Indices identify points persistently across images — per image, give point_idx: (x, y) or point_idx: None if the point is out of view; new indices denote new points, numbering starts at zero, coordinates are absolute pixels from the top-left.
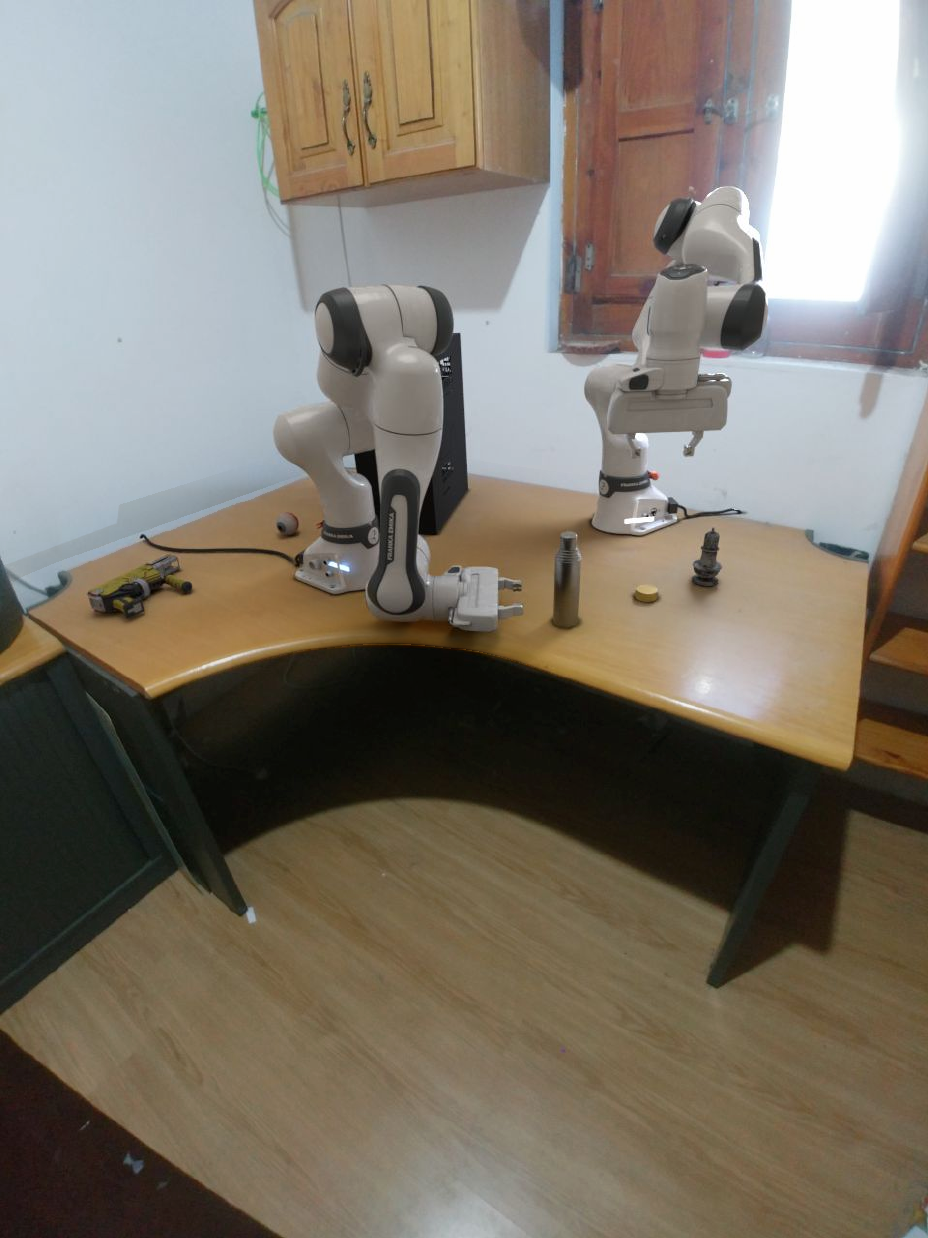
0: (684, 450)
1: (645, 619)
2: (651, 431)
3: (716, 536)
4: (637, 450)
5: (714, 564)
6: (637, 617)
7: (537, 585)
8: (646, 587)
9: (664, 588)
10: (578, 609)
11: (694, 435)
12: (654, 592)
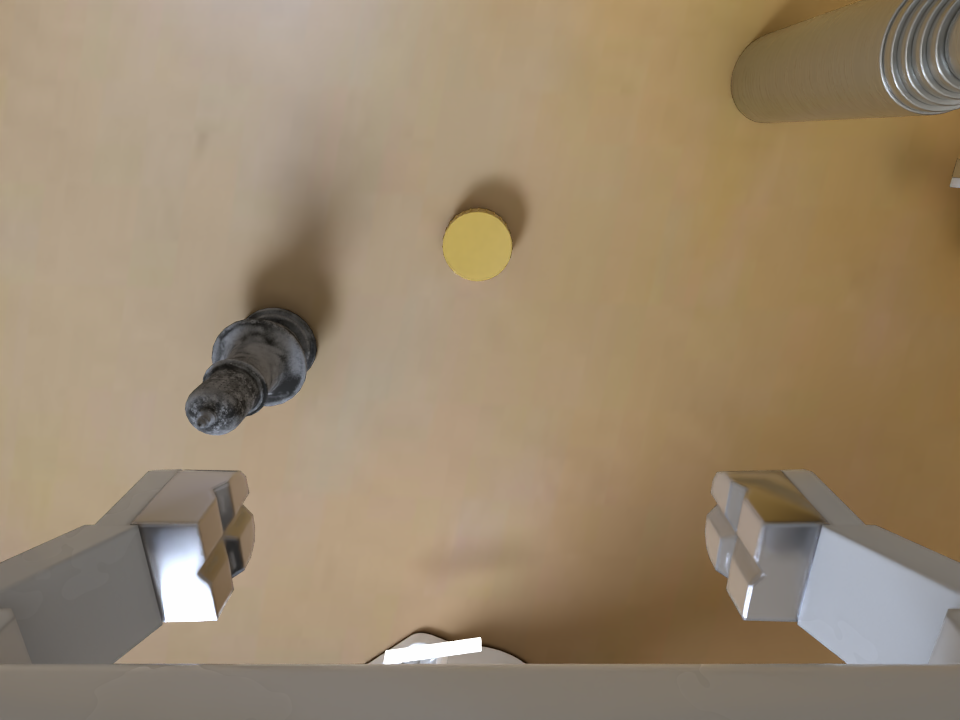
0: (232, 561)
1: (508, 87)
2: (788, 674)
3: (198, 391)
4: (794, 512)
5: (236, 345)
6: (531, 102)
7: (800, 333)
8: (476, 259)
9: (409, 299)
10: (756, 61)
11: (17, 650)
12: (457, 221)
